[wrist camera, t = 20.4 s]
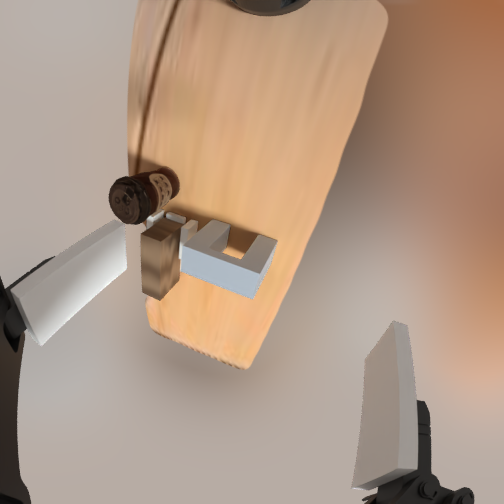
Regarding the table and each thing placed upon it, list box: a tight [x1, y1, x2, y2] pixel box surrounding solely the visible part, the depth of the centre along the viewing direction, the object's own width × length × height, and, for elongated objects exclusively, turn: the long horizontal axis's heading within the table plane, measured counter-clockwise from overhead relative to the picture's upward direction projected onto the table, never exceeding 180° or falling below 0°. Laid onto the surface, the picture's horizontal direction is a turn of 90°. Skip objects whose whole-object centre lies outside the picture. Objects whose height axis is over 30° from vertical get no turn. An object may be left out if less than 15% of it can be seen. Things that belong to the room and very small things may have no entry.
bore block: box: [181, 219, 278, 299], centre depth 47 cm, size 5×13×11 cm, turn 77°
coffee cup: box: [109, 167, 180, 225], centre depth 46 cm, size 9×8×13 cm
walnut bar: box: [141, 218, 184, 301], centre depth 54 cm, size 14×4×8 cm, turn 167°
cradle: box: [146, 209, 198, 271], centre depth 55 cm, size 13×10×4 cm
